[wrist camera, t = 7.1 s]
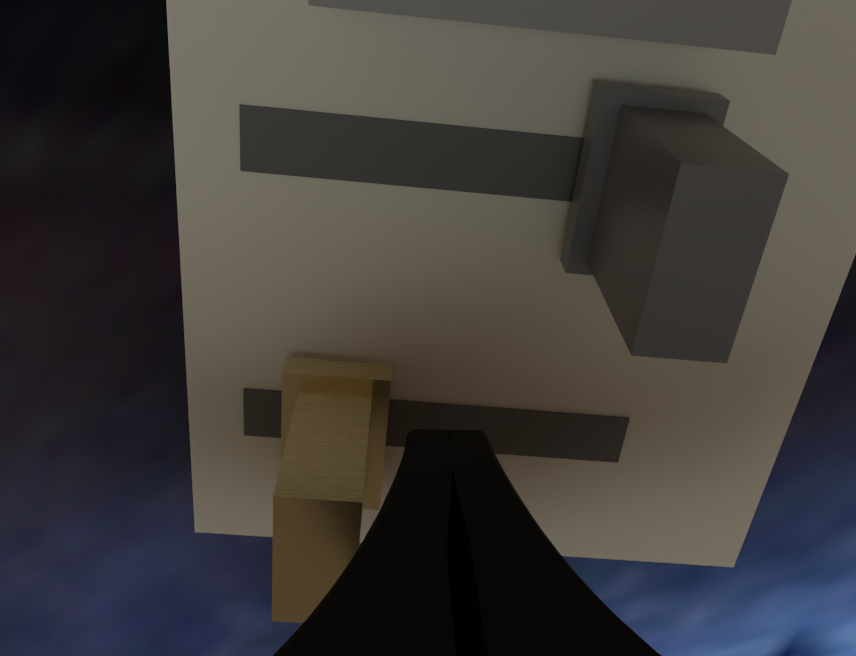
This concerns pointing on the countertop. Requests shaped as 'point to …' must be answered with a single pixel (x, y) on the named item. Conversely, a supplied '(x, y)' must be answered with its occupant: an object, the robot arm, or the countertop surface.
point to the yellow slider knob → (325, 475)
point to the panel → (494, 246)
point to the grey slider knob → (670, 218)
